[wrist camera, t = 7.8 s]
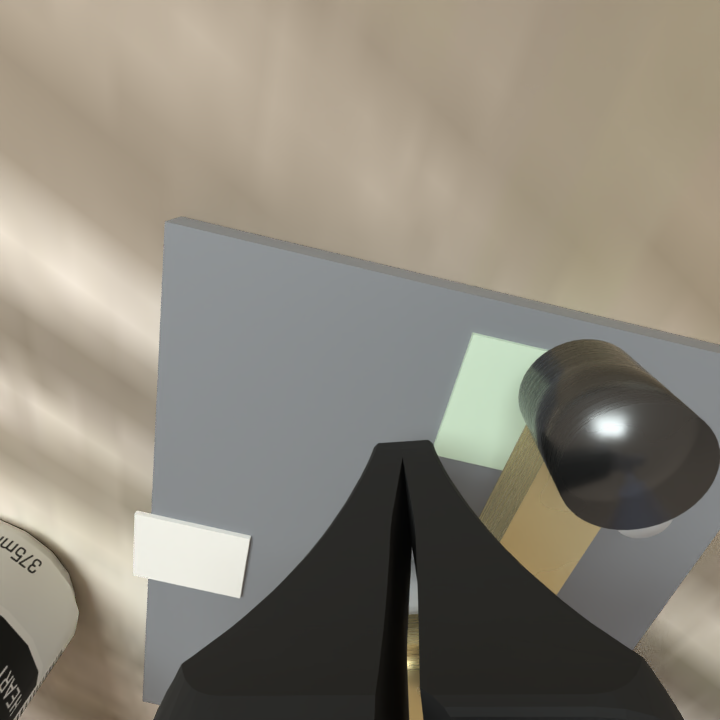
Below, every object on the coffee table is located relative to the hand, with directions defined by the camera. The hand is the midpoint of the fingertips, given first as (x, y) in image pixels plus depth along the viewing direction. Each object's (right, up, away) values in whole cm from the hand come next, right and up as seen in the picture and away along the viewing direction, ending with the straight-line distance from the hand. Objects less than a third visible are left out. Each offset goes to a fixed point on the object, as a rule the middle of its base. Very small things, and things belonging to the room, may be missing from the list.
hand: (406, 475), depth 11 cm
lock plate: (0, -4, +6) cm, 8 cm away
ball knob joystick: (+2, -3, +2) cm, 4 cm away
